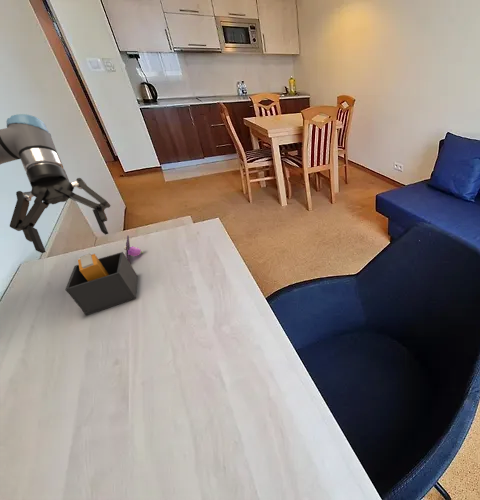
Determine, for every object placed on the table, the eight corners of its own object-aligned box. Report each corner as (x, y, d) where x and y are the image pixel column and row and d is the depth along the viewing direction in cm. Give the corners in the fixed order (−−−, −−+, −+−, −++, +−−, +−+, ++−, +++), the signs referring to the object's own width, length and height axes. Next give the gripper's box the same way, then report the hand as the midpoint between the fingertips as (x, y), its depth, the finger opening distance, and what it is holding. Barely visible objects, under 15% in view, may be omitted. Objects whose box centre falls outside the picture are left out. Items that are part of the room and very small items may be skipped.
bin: (86, 315, 84) (65, 289, 78) (93, 290, 93) (74, 265, 87) (135, 298, 88) (119, 272, 83) (137, 276, 97) (122, 251, 92)
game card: (124, 235, 106) (123, 247, 100) (142, 235, 109) (142, 246, 102) (126, 252, 109) (125, 264, 102) (143, 251, 112) (143, 263, 105)
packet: (104, 303, 86) (78, 268, 79) (101, 291, 91) (76, 258, 84) (120, 296, 88) (96, 262, 81) (116, 285, 93) (93, 251, 86)
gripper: (106, 166, 89) (133, 230, 87) (-7, 190, 78) (21, 263, 76) (95, 151, 82) (124, 220, 80) (-30, 176, 71) (0, 256, 69)
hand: (74, 241), depth 78 cm, fingers open, 13 cm apart
